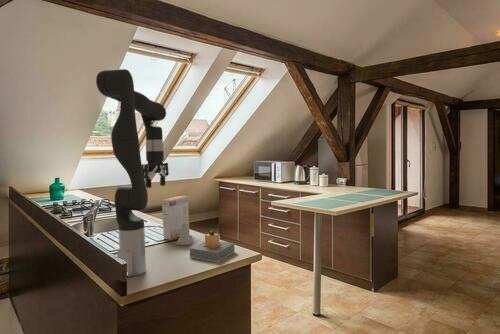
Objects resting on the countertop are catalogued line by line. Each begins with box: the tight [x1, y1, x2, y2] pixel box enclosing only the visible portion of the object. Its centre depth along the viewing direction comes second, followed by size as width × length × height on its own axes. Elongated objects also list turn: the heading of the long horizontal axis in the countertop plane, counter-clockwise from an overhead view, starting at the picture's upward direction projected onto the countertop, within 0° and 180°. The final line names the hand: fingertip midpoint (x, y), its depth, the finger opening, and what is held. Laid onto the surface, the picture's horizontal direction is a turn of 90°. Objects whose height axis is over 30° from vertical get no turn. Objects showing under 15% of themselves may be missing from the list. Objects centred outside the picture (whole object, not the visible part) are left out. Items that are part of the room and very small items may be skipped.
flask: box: [176, 223, 194, 246], centre depth 166 cm, size 7×7×10 cm
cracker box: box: [161, 195, 190, 241], centre depth 178 cm, size 14×6×21 cm, turn 149°
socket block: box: [189, 240, 235, 263], centre depth 148 cm, size 14×14×4 cm
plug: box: [204, 230, 220, 249], centre depth 148 cm, size 4×4×10 cm
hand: (156, 186), depth 151 cm, fingers open, 8 cm apart
